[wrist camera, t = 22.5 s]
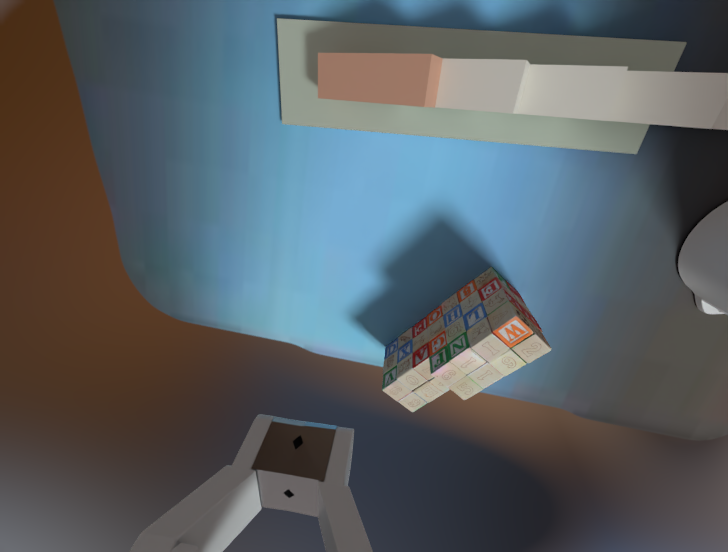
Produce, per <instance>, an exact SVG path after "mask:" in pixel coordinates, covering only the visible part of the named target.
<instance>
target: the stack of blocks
mask: <svg viewBox="0 0 728 552" xmlns="http://www.w3.org/2000/svg"><path fill="white" fill-rule="evenodd" d="M550 350H551V347H550V346H549V344H548V342H547V341H546V339H545V337H544V336H543V334H542V330H541V328H540V327H539V325H538V323H537V321H536V320H535V318H534V317H533V316H532V314H531V313H530V311H529V309H528V308H527V306H526V304H525V302H524V301H523V299H522V297H521V296H520V294H519V293H518V292H517V291H516V290H515V289H514V288H513V287H512V286H511V285H510V284H509V283H508V282H507V281H505V280H504V279H503V278H502V277H501V276H500V275H499V274H498V273H497V272H496V271H495V270H494V269H493V268H492V267H490V268H489V269H488V270H486V271H485V272H484V273H482V274H481V275H480V276H478V277H477V278H476V279H474V280H472V281H471V282H469V283H468V284H467V285H465V286H464V287H463V288H461V289H460V290H459V291H458V292H456V293H455V294H454V295H452V296H451V297H449V298H448V299H447V300H446V301H444V302H443V303H442V304H441V305H440V306H439V307H438V308H436V309H435V310H434V311H432V312H431V313H430V314H428V315H427V317H425V318H424V319H422V320H421V321H420V322H419V323H417V324H416V325H415V326H413V327H411V328H410V329H408V330H407V331H406V332H404V333H403V334H402V335H401V336H399V337H398V338H397V339H395V340H394V341H393V342H392V343H390V344H389V345H388V346H386V349H385V358H384V359H385V360H384V367H383V374H384V375H383V385H382V390H383V391H384V392H386V393H387V394H388V395H390V396H391V397H392V398H393V399H395V400H396V401H398V402H399V403H401V404H402V405H403V406H404V407H406V408H407V409H409V410H410V411H411V412H414V411H416V410H417V409H419V408H420V407H422V406H424V405H425V404H426V403H429V402H431V401H432V400H434V399H436V398H437V397H439V396H440V395H442V394H443V393H445V392H447V391H449V390H450V389H451V390H452V391H453V392H455V393H456V394H457V395H459V396H460V397H461V398H462V399H463V400H466V399H468V398H470V397H471V396H473V395H475V394H476V393H478V392H480V391H481V390H483V389H484V388H486V387H488V386H490V385H491V384H493V383H494V382H496V381H498V380H500V379H501V378H502V377H504V376H507V375H509V374H510V373H512V372H514V371H515V370H517V369H519V368H520V367H522V366H524V365H525V364H526V363H530V362H532V361H533V360H535V359H537V358H539V357H540V356H542V355H544V354H546V353H547V352H549V351H550Z"/></svg>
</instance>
